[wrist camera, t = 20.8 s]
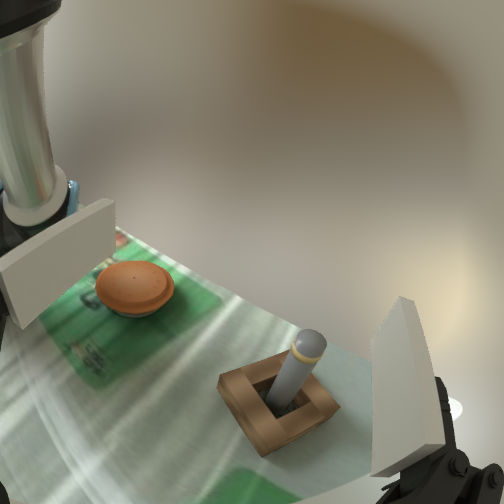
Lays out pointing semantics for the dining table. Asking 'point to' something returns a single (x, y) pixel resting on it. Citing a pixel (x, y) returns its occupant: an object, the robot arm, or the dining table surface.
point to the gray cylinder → (295, 370)
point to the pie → (134, 288)
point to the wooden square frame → (257, 413)
